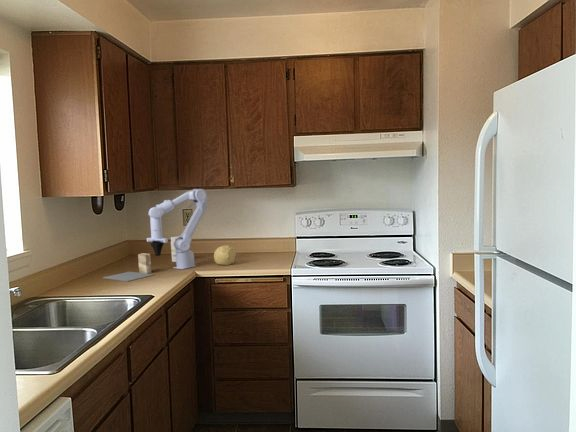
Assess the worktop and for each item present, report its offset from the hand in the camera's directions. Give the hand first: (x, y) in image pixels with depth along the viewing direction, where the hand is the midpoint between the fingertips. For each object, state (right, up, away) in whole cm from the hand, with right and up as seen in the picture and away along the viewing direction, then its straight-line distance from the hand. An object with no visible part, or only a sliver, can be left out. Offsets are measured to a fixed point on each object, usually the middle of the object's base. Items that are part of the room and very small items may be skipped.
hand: (158, 255), depth 263 cm
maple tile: (-6, -9, -3) cm, 11 cm away
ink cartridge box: (+5, -6, +31) cm, 32 cm away
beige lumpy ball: (+34, -6, +12) cm, 37 cm away
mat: (-12, -10, -12) cm, 19 cm away
